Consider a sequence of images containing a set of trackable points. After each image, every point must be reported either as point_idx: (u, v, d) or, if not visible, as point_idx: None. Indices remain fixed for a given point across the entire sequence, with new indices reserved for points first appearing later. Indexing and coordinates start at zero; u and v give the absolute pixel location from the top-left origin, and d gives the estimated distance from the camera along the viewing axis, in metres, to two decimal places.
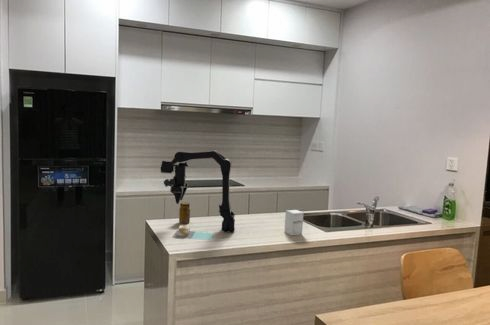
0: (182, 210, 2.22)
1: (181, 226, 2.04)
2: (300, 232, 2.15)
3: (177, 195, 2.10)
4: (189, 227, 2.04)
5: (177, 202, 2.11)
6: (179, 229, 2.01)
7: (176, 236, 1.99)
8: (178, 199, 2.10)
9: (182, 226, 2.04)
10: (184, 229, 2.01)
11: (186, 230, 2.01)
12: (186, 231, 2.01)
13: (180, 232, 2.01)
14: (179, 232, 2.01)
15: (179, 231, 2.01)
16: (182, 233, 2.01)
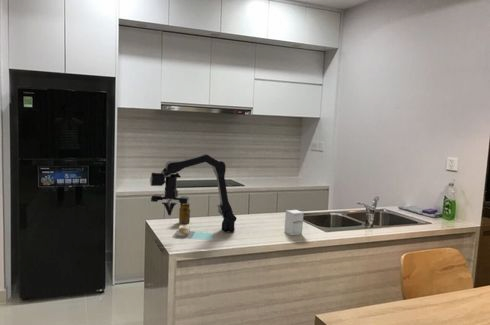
0: (182, 210, 2.22)
1: (181, 226, 2.04)
2: (300, 232, 2.15)
3: None
4: (189, 227, 2.04)
5: None
6: (179, 229, 2.01)
7: (176, 236, 1.99)
8: None
9: (182, 226, 2.04)
10: (184, 229, 2.01)
11: (186, 230, 2.01)
12: (186, 231, 2.01)
13: (180, 232, 2.01)
14: (179, 232, 2.01)
15: (179, 231, 2.01)
16: (182, 233, 2.01)
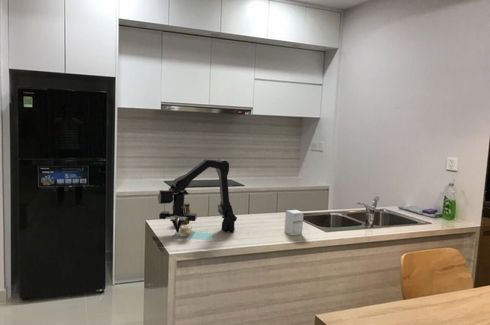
0: None
1: (183, 226, 2.04)
2: (300, 232, 2.15)
3: None
4: (191, 227, 2.04)
5: None
6: (181, 229, 2.01)
7: (176, 236, 1.99)
8: None
9: (184, 226, 2.04)
10: (186, 229, 2.01)
11: (188, 230, 2.01)
12: (188, 231, 2.01)
13: (182, 232, 2.01)
14: (181, 232, 2.01)
15: (181, 231, 2.01)
16: (184, 233, 2.01)
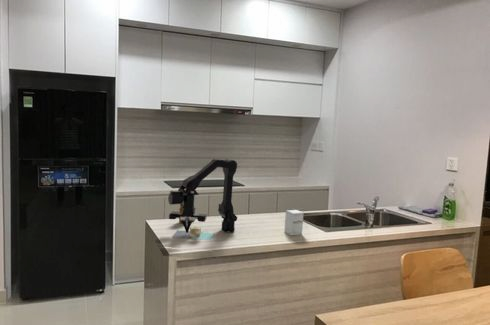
0: None
1: (192, 227, 2.03)
2: (300, 232, 2.15)
3: None
4: (200, 228, 2.04)
5: None
6: (191, 230, 2.00)
7: (176, 236, 1.99)
8: None
9: (193, 227, 2.03)
10: (196, 230, 2.00)
11: (198, 231, 2.00)
12: (198, 232, 2.00)
13: (192, 233, 2.01)
14: (190, 233, 2.01)
15: (191, 232, 2.01)
16: (194, 234, 2.01)
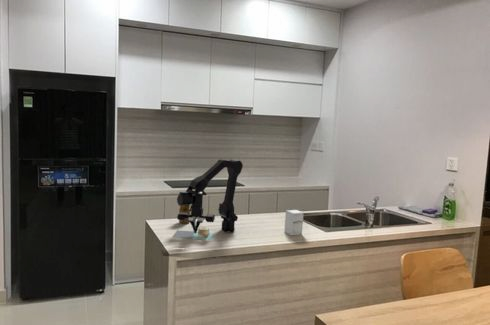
0: (182, 210, 2.22)
1: (200, 227, 2.03)
2: (300, 232, 2.15)
3: None
4: (208, 228, 2.04)
5: None
6: (199, 230, 2.00)
7: (176, 236, 1.99)
8: None
9: (201, 227, 2.03)
10: (204, 231, 2.00)
11: (206, 232, 2.00)
12: (206, 233, 2.00)
13: (200, 233, 2.00)
14: (199, 234, 2.00)
15: (199, 233, 2.00)
16: (202, 235, 2.00)
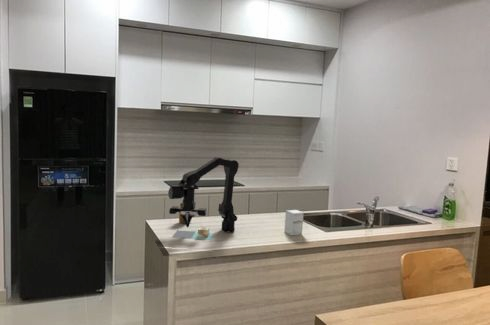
0: None
1: (200, 227, 2.03)
2: (300, 232, 2.15)
3: None
4: (208, 228, 2.04)
5: None
6: (199, 230, 2.00)
7: (176, 236, 1.99)
8: None
9: (201, 227, 2.03)
10: (204, 231, 2.00)
11: (206, 232, 2.00)
12: (206, 233, 2.00)
13: (200, 233, 2.00)
14: (199, 234, 2.00)
15: (199, 233, 2.00)
16: (202, 235, 2.00)
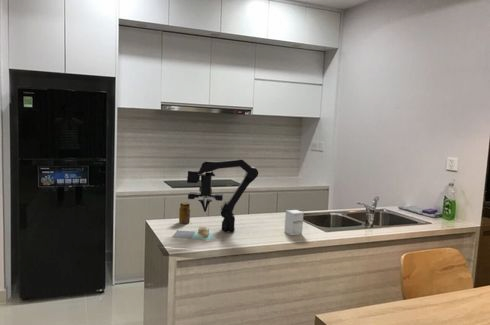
0: (182, 210, 2.22)
1: (200, 227, 2.03)
2: (300, 232, 2.15)
3: None
4: (208, 228, 2.04)
5: (204, 210, 2.14)
6: (199, 230, 2.00)
7: (176, 236, 1.99)
8: (203, 207, 2.13)
9: (201, 227, 2.03)
10: (204, 231, 2.00)
11: (206, 232, 2.00)
12: (206, 233, 2.00)
13: (200, 233, 2.00)
14: (199, 234, 2.00)
15: (199, 233, 2.00)
16: (202, 235, 2.00)
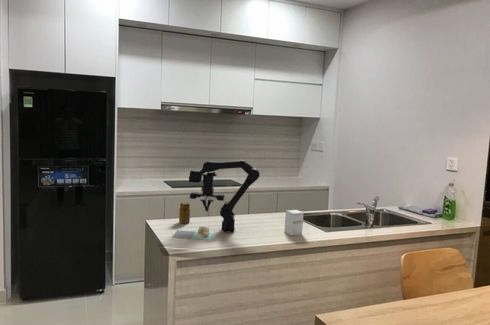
0: (182, 210, 2.22)
1: (200, 227, 2.03)
2: (300, 232, 2.15)
3: None
4: (208, 228, 2.04)
5: None
6: (199, 230, 2.00)
7: (176, 236, 1.99)
8: None
9: (201, 227, 2.03)
10: (204, 231, 2.00)
11: (206, 232, 2.00)
12: (206, 233, 2.00)
13: (200, 233, 2.00)
14: (199, 234, 2.00)
15: (199, 233, 2.00)
16: (202, 235, 2.00)
